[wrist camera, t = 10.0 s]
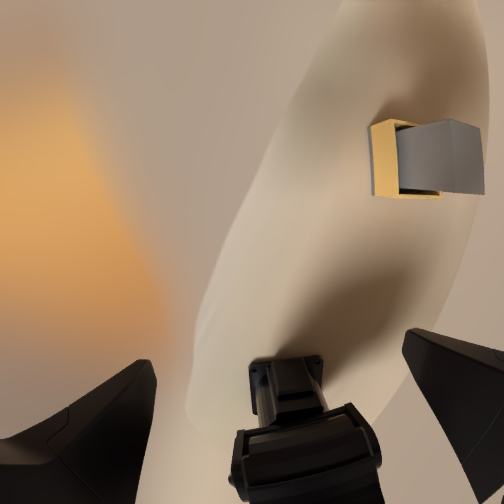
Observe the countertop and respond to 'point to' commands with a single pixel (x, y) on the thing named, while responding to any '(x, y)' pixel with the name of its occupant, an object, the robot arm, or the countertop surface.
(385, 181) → the socket block
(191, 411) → the countertop surface
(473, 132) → the plug
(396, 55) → the countertop surface
